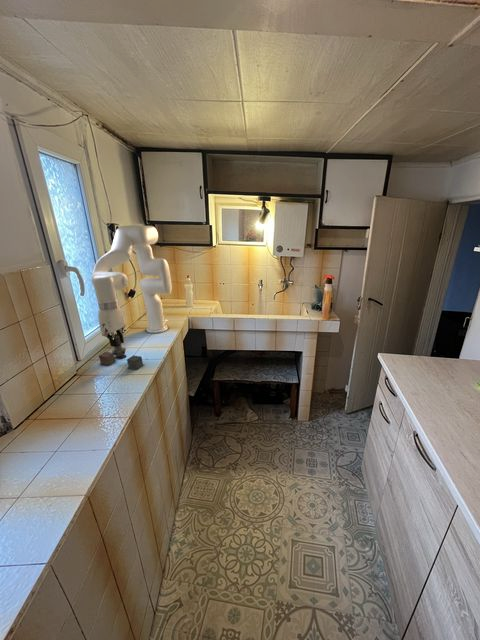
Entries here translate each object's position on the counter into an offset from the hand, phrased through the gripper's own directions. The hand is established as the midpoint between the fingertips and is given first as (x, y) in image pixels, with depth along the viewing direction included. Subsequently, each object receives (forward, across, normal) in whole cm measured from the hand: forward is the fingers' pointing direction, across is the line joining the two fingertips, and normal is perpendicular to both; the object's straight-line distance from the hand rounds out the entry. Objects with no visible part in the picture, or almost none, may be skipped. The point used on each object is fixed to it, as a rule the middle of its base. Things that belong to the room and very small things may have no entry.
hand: (117, 344), depth 127 cm
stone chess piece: (+7, 0, 0) cm, 7 cm away
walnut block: (+11, 0, -8) cm, 13 cm away
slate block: (+11, 0, +8) cm, 13 cm away
